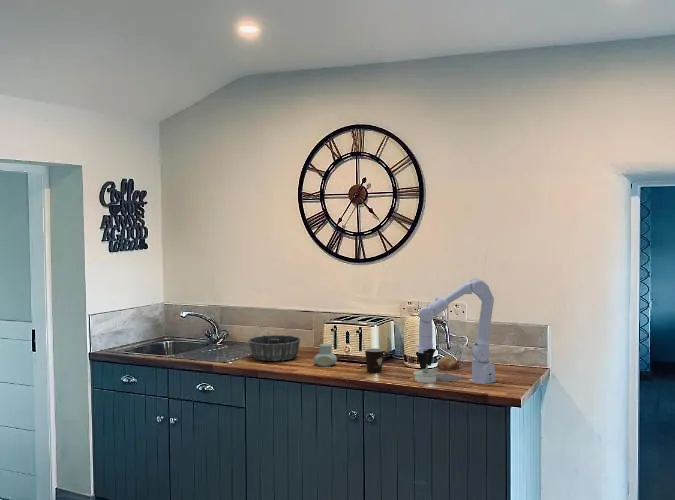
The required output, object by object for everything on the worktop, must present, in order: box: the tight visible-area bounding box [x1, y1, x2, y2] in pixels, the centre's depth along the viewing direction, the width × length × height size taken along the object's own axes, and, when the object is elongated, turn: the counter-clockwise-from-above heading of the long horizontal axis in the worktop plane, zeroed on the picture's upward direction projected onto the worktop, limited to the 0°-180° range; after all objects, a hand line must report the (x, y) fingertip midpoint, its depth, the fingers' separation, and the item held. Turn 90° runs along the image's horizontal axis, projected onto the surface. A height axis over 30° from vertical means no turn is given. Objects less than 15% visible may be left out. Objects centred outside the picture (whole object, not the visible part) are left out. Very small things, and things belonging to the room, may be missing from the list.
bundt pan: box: [247, 334, 302, 363], centre depth 360 cm, size 26×26×10 cm
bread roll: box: [437, 355, 460, 371], centre depth 334 cm, size 10×10×8 cm
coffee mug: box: [364, 347, 388, 374], centre depth 329 cm, size 12×9×10 cm
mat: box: [436, 372, 465, 382], centre depth 314 cm, size 12×12×1 cm
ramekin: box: [414, 375, 437, 384], centre depth 308 cm, size 9×9×3 cm
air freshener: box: [313, 343, 338, 368], centre depth 343 cm, size 11×8×10 cm
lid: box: [413, 364, 438, 377], centre depth 308 cm, size 10×10×4 cm
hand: (425, 367), depth 308 cm, fingers open, 7 cm apart
